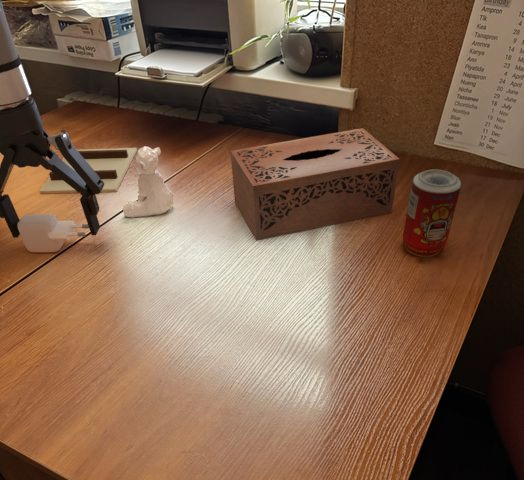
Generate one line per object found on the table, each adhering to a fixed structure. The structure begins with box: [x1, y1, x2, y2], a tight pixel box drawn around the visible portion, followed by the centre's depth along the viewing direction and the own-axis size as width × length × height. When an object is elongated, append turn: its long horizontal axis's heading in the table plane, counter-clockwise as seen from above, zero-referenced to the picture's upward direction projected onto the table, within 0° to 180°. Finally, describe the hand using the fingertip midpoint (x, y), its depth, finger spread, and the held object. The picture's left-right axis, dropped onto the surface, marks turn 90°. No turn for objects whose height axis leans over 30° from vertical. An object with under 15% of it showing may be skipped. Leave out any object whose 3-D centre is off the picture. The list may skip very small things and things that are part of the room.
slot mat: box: [39, 147, 138, 195], centre depth 109 cm, size 16×20×2 cm
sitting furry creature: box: [122, 145, 174, 219], centre depth 92 cm, size 10×9×12 cm
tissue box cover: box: [230, 127, 400, 241], centre depth 91 cm, size 26×14×10 cm, turn 107°
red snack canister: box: [402, 168, 462, 258], centre depth 79 cm, size 7×7×12 cm
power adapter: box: [17, 213, 89, 253], centre depth 86 cm, size 11×5×6 cm, turn 87°
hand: (57, 232), depth 86 cm, fingers open, 13 cm apart
